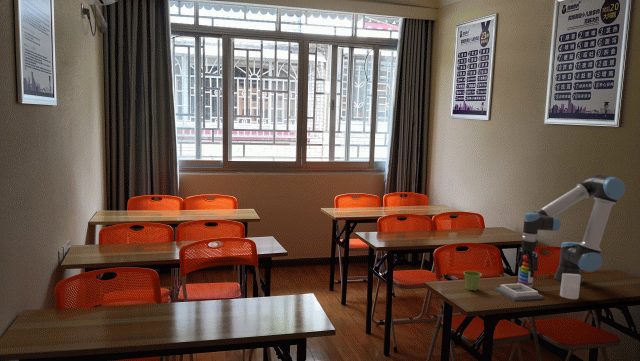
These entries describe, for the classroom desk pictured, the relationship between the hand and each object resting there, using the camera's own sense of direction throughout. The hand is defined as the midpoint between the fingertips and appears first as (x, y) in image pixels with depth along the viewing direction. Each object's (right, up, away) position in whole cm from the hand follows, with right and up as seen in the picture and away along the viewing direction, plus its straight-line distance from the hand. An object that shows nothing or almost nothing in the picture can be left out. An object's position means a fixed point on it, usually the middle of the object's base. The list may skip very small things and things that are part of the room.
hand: (525, 280), depth 287 cm
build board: (-9, -5, -14) cm, 17 cm away
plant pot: (-33, -3, -9) cm, 34 cm away
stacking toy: (0, -4, 0) cm, 4 cm away
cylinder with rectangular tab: (+19, -6, -12) cm, 23 cm away
